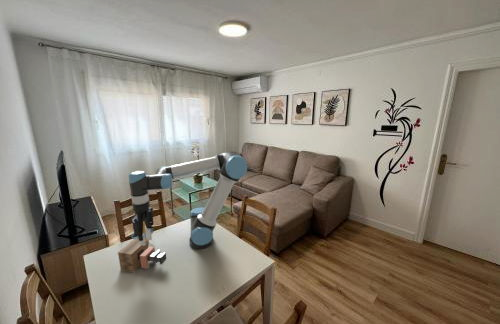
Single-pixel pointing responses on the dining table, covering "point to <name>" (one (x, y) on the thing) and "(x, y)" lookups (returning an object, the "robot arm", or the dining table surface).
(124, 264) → the block
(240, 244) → the dining table surface
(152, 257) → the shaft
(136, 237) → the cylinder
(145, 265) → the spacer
